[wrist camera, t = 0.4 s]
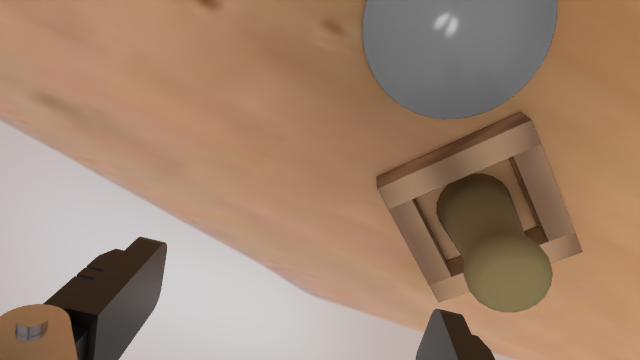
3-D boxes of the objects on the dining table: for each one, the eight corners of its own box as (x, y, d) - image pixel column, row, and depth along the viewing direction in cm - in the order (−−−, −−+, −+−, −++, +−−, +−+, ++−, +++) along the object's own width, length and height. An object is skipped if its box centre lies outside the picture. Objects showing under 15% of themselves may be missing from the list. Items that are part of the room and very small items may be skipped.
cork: (523, 219, 36) (583, 306, 26) (455, 248, 37) (487, 340, 27) (493, 160, 34) (546, 228, 24) (424, 193, 36) (445, 270, 26)
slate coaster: (513, -123, 27) (518, -128, 26) (576, 65, 31) (582, 67, 30) (330, -13, 30) (329, -13, 29) (408, 143, 34) (409, 147, 33)
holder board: (520, 111, 32) (531, 119, 30) (569, 236, 36) (582, 252, 34) (376, 177, 36) (377, 188, 33) (434, 285, 39) (438, 302, 37)
